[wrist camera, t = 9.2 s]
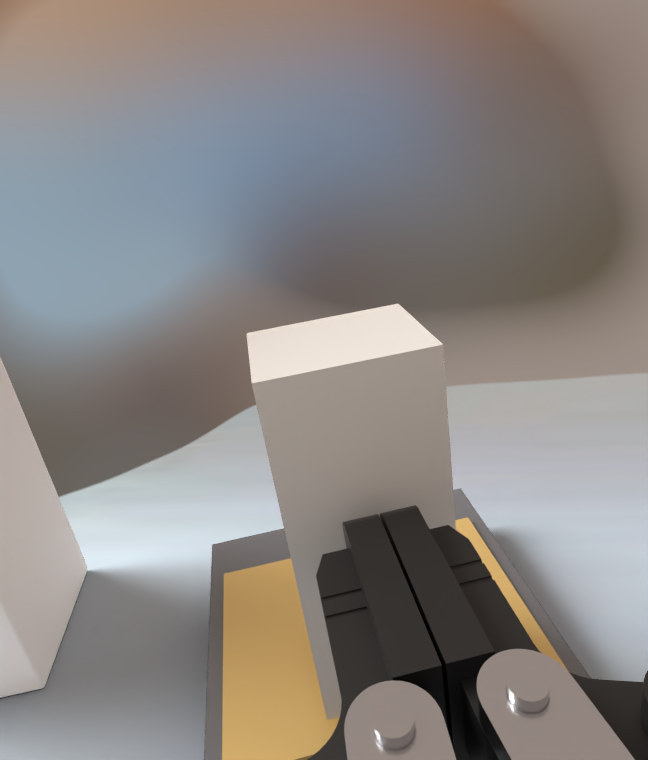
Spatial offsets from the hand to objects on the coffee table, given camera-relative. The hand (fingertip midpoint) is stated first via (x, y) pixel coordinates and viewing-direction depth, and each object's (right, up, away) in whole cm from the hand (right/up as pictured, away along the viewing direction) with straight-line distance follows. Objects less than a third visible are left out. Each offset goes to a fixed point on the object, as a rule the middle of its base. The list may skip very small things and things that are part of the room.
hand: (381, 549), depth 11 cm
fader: (0, -4, +4) cm, 6 cm away
